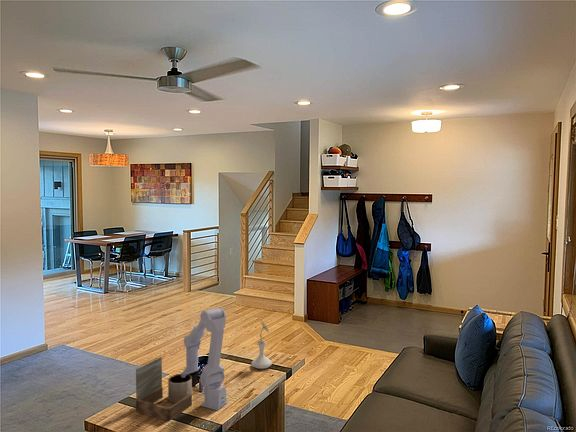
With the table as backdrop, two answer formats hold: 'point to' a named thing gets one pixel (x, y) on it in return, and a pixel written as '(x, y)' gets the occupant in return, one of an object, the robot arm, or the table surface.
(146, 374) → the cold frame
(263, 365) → the flower in vase
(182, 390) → the planter
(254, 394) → the table surface
